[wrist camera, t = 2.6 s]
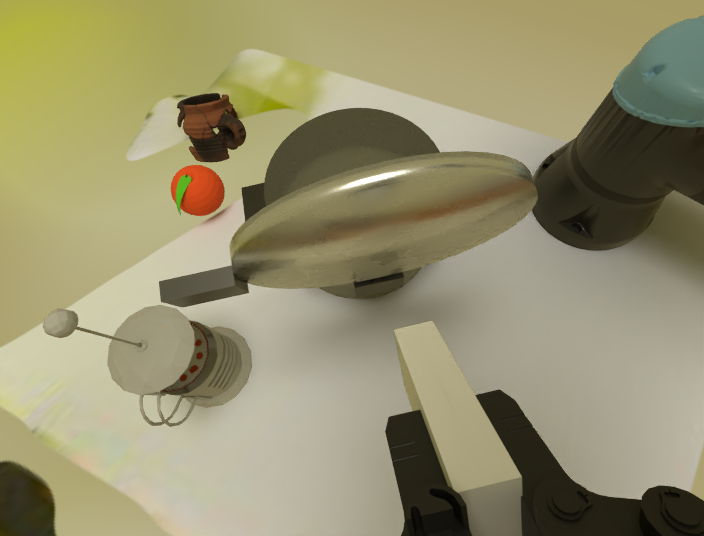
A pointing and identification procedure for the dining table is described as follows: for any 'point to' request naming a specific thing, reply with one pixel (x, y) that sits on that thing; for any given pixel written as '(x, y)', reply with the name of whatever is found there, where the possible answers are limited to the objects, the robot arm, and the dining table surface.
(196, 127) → the pottery mug
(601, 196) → the robot arm
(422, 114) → the dining table surface
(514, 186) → the cooker lid
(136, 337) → the french press
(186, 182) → the clementine
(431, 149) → the pressure cooker pot
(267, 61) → the dining table surface
